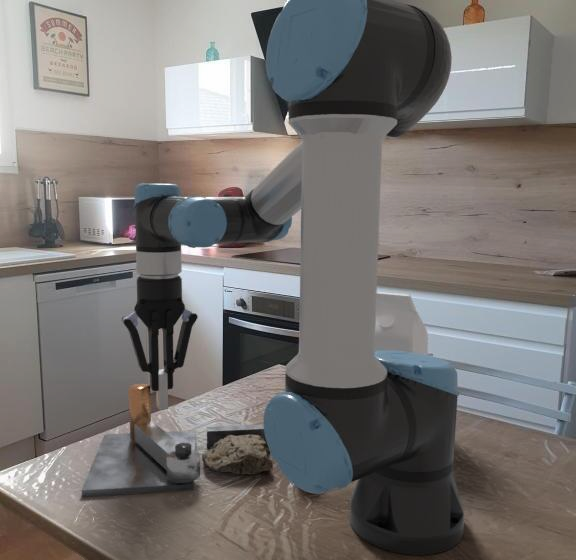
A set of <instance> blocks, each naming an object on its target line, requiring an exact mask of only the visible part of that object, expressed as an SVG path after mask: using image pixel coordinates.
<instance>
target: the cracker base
mask: <svg viewBox="0 0 576 560" xmlns="http://www.w3.org/2000/svg"><path fill="white" fill-rule="evenodd" d="M165 432H166V433H167V434H169V435H170V436H171V437H172V438H173V439H175V440H176V441H177V442H178V443H180V444H177V445H176V446H175V455H176V456H177V457H188V456H190V455H191V450H195V451H196V441H197V431H196V430H194V429H193V430H192V429H191V430H174V431H173V430H172V431H171V430H170V431H165ZM228 435H233V436H241V435H259V436H261V437H262V438H263V439H264V441H265V442H266V443H267V441H266V437H265V432H264V423H263V424H245V425H243V424H242V425H241V424H240V425H219V426H218V425H217V426H206V448H207V449H211V448H212V447H213V446H214V444H215V443H217V442H218V441H219V440H220V439H224V438H225V437H226V436H228ZM267 446H268V444H267ZM194 489H195V480H194V481H192V482H188V483H175V482H172V481H170V480H168V478H167V470H166V469H165V468H164V467H162V466H161V465H160V464H159V463H158V462H157V461H156V460H155V459H154V458H153V457H152V456H151V455H150V454H148V453H147V452H146V451H145V450H144V449H143V448H142V447H141V446H140V445H139V444H138V443H137V442H136V441H134V440H131V439H130V432H129V433H128V432H126V433H105V434H104V435H103V437H102V440H101V442H100V444H99V447H98V449H97V453H96V454H95V458H94V459H93V461H92V464H91V466H90V469H89V471H88V473H87V477H86V479H85V481H84V483H83V486H82V488H81V498H84V497H85V498H87V497H88V498H89V497H104V496H121V495H132V494H133V495H135V494H136V495H137V494H140V495H141V494H155V493H169V492H171V493H173V492H187V491H189V492H190V491H194Z"/></svg>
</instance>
